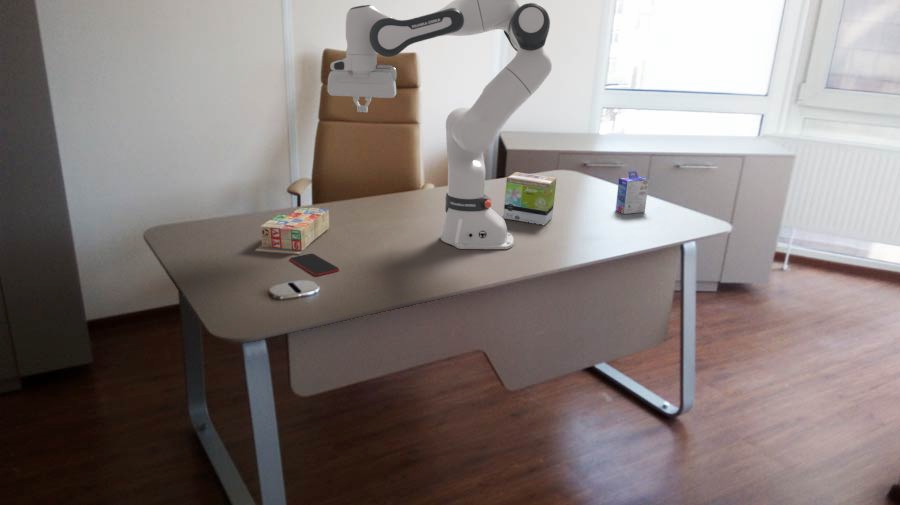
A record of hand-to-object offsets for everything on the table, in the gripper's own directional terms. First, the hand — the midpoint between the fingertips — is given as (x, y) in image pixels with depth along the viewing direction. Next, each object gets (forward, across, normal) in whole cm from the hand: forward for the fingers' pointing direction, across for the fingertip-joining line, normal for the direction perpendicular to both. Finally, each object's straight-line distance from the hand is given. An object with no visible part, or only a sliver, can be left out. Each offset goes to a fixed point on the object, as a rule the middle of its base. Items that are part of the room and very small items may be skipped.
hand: (362, 112), depth 195 cm
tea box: (+37, -53, -20) cm, 67 cm away
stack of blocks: (+32, +11, +16) cm, 38 cm away
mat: (+36, +18, +16) cm, 43 cm away
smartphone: (+36, +6, +35) cm, 51 cm away
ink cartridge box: (+37, -90, -37) cm, 104 cm away
